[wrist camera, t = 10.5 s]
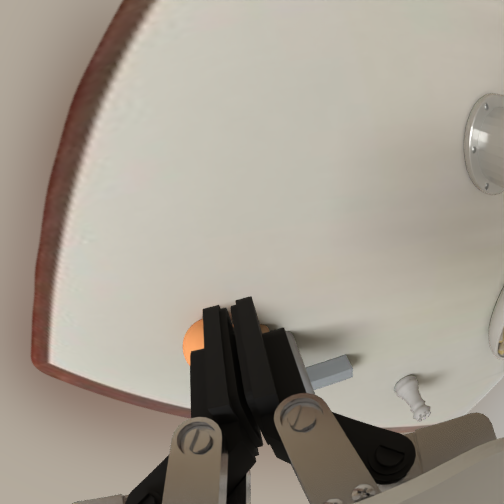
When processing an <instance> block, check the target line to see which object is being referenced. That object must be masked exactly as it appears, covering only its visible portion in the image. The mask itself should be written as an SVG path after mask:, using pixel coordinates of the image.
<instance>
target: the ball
mask: <svg viewBox="0 0 504 504" xmlns="http://www.w3.org/2000/svg"><path fill="white" fill-rule="evenodd" d="M232 325H233V324H232ZM233 327H234V326H233ZM203 348H204V333H203V319H201V320H199V321H197V322H196V323H194V324H193V325H192V326H191V327H190V328H189V329H188V331H187V332H186V334H185V337H184V340H183V353H184V356H185V359H186V361H187V363H188V364H189V365H190V354H191V351H195V350H199V349H203Z"/></svg>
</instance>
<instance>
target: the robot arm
mask: <svg viewBox="0 0 504 504" xmlns="http://www.w3.org/2000/svg"><path fill="white" fill-rule="evenodd" d="M464 153H465V162H466V166H467V170H468V173H469V176H470V178H471V180H472V182H473V183H474V185H475V186H476V187H477V188H478V189H479V190H481V191H483V192H485V193H487V194H490V195H496V194H500V193H502V192H503V191H504V96H503V95H499V94H487V95H484V96H483V97H482V98H480V99H479V100H478V101H477V103H476V104H475V105H474V107H473V109H472V111H471V113H470V116H469V119H468V121H467V126H466V130H465V139H464ZM231 313H232V320H233V325H232V322H231V319H230V317H229V314H228V311H227V309H226V308H222V309H221V308H220V306H219V305H217V306H213V307H209V308H205V309H203V333H204V348H203V349H199V350H195V351H191V354H190V386H191V419H188V420H186V421H184V422H183V423H182V424H180V425H179V426H178V427H177V429H176V430H175V432H174V434H173V437H172V440H171V447H170V453H169V455H168V456H167V457H166V458H165V459H164V461H162V462H161V463H160V464H159V466H157V467H156V468H155V469H154V470H153V471H152V472H151V473H150V474H149V475H148V476H147V477H146V478H145V479H144V480H143V481H142V482H141V483H140V484H139V485H138V486H137V487H136V488H135V489H134V490H132V492H131V493H130V494H129V495H125V496H124V495H122V494H119V495H114V496H109V497H104V498H97V499H91V500H85V501H77V502H75V503H72V504H251V502H250V501H251V489H250V488H251V485H250V484H251V474H250V469H251V467H252V466H253V465H254V464H255V462H256V458H255V456H257V455H259V452H258V447H261V446H263V442H262V437H261V432H262V434H263V436H264V438H265V440H266V442H267V444H268V445H269V444H270V445H271V447H272V449H273V451H274V453H275V455H276V457H277V458H279V459H281V460H283V461H285V462H287V463H290V464H291V465H292V467H293V470H294V472H295V474H296V476H297V478H298V480H299V482H300V484H301V486H302V489H303V491H304V493H305V495H306V497H307V499H308V501H309V503H310V504H504V438H499V439H496V436H495V433H494V429H493V426H492V423H491V422H490V420H489V418H488V417H486V416H485V415H484V414H481V413H470V414H467V415H464V416H461V417H458V418H455V419H452V420H449V421H445V422H442V423H439V424H435V425H432V426H428V427H424V428H420V429H417V430H415V432H413V433H409V434H405V435H402V434H400V433H396V432H393V431H389V430H386V429H382V428H379V427H376V426H372V425H369V424H366V423H363V422H360V421H357V420H354V419H351V418H348V417H345V416H342V415H339V414H336V413H333V412H331V410H330V408H329V407H328V405H327V404H326V402H325V401H324V400H323V399H322V398H320V397H318V396H317V395H314V394H310V393H306V390H305V387H304V384H303V381H302V378H301V375H300V373H299V370H298V367H297V364H296V361H295V358H294V355H293V352H292V349H291V346H290V344H289V341H288V338H287V335H286V332H285V329H284V328H280V329H277V330H273V331H270V332H266V333H262V331H261V327H260V324H259V321H258V317H257V314H256V310H255V307H254V304H253V300H252V297H251V296H250V297H247V298H243V299H239V300H236V305H234V306H231ZM233 326H234V327H233ZM260 430H261V432H260Z"/></svg>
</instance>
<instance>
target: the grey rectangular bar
mask: <svg viewBox="0 0 504 504" xmlns="http://www.w3.org/2000/svg"><path fill="white" fill-rule="evenodd" d="M306 371H307V373H308V376H309V379H310V382H311V384H312V387H313V390H316V389H319V388H322V387H325V386H328V385H331V384H334V383H337V382H340V381H343V380H346V379H348V378H351V377H353V368H352V366H351V364H350V362H349V360H348V358H347V356H346V355H343V356H340V357H338V358H335V359H332V360H329V361H326V362H323V363H319V364H316V365H313V366H310V367H307V368H306Z"/></svg>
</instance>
